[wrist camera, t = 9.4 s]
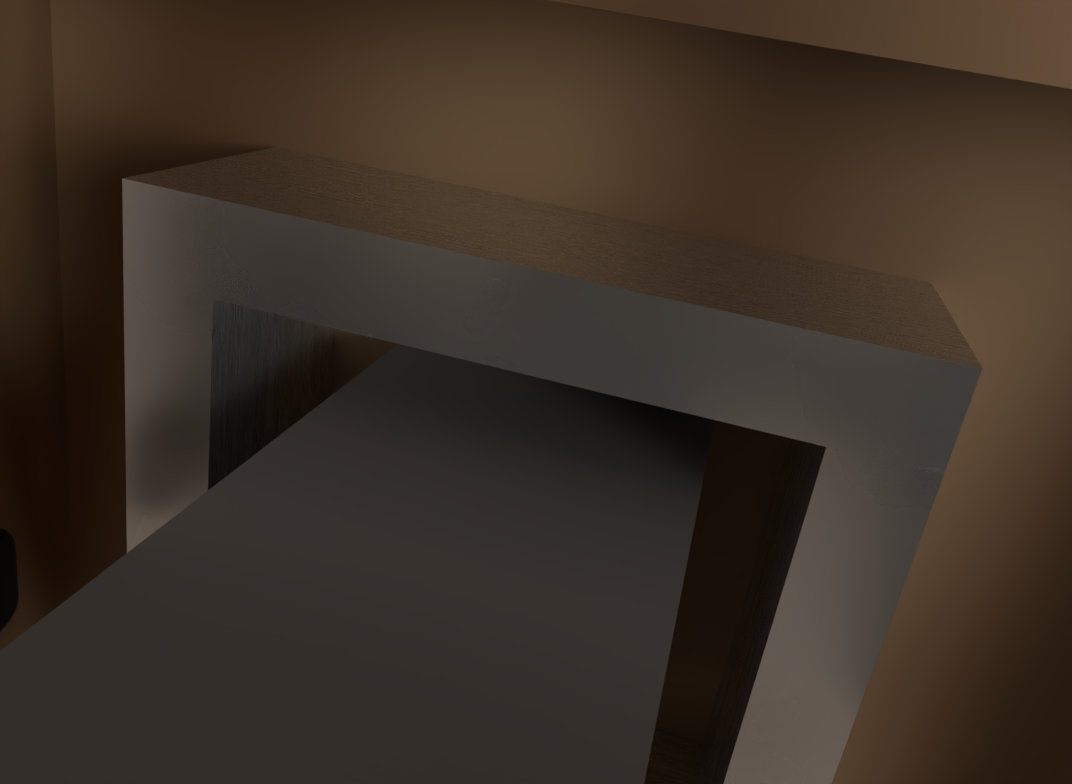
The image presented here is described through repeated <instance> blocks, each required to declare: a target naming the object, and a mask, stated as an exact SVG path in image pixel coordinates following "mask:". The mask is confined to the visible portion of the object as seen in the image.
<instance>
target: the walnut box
mask: <svg viewBox="0 0 1072 784" xmlns="http://www.w3.org/2000/svg"><path fill="white" fill-rule="evenodd" d="M274 147H278V148H283V149H288V150H293V151H298V152H302V153H307V154H312V155H317V156H322V157H326V158H331V159H336V160H341V161H346V162H351V163H355V164H360V165H365V166H370V167H375V168H379V169H384V170H389V171H394V172H399V173H404V174H408V175H413V176H418V177H423V178H428V179H432V180H437V181H442V182H447V183H452V184H457V185H461V186H466V187H471V188H476V189H481V190H485V191H490V192H495V193H500V194H505V195H510V196H514V197H519V198H524V199H529V200H534V201H538V202H543V203H548V204H553V205H558V206H563V207H567V208H572V209H577V210H582V211H587V212H591V213H596V214H601V215H606V216H611V217H616V218H620V219H625V220H630V221H635V222H640V223H644V224H649V225H654V226H659V227H664V228H669V229H673V230H678V231H683V232H688V233H693V234H697V235H702V236H707V237H712V238H717V239H722V240H726V241H731V242H736V243H741V244H746V245H750V246H755V247H760V248H765V249H770V250H775V251H779V252H784V253H789V254H794V255H799V256H803V257H808V258H813V259H818V260H823V261H828V262H832V263H837V264H842V265H847V266H852V267H856V268H861V269H866V270H871V271H876V272H880V273H885V274H890V275H895V276H900V277H905V278H909V279H914V280H919V281H924V282H929V283H932V284H933V286H934V287H935V289H936V291H937V293H938V294H939V296H940V298H941V299H942V301H943V303H944V304H945V306H946V308H947V309H948V311H949V313H950V314H951V316H952V318H953V319H954V321H955V323H956V324H957V326H958V328H959V329H960V331H961V333H962V334H963V336H964V338H965V339H966V341H967V343H968V344H969V346H970V348H971V349H972V351H973V353H974V355H975V356H976V358H977V360H978V361H979V363H980V365H981V366H982V368H983V369H982V371H981V374H980V377H979V380H978V382H977V385H976V388H975V391H974V393H973V396H972V399H971V402H970V404H969V407H968V410H967V413H966V415H965V418H964V421H963V424H962V426H961V429H960V432H959V435H958V437H957V440H956V443H955V446H954V448H953V451H952V454H951V457H950V459H949V462H948V465H947V468H946V470H945V473H944V476H943V479H942V481H941V484H940V487H939V490H938V492H937V495H936V498H935V501H934V503H933V506H932V509H931V512H930V514H929V517H928V520H927V523H926V525H925V528H924V531H923V534H922V536H921V539H920V542H919V545H918V547H917V550H916V553H915V556H914V558H913V561H912V564H911V567H910V569H909V572H908V575H907V578H906V580H905V583H904V586H903V589H902V591H901V594H900V597H899V600H898V602H897V605H896V608H895V611H894V613H893V616H892V619H891V622H890V624H889V627H888V630H887V633H886V635H885V638H884V641H883V644H882V646H881V649H880V652H879V655H878V657H877V660H876V663H875V666H874V668H873V671H872V674H871V677H870V679H869V682H868V685H867V688H866V690H865V693H864V696H863V699H862V701H861V704H860V707H859V710H858V712H857V715H856V718H855V721H854V723H853V726H852V729H851V732H850V734H849V737H848V740H847V743H846V745H845V748H844V751H843V754H842V756H841V759H840V762H839V765H838V767H837V770H836V773H835V776H834V778H833V781H832V784H1072V0H0V528H1V529H4V530H6V531H8V532H9V533H11V535H12V537H13V538H14V540H15V544H16V557H17V572H18V588H19V600H18V605H17V608H16V611H15V613H14V615H13V617H12V619H11V620H10V622H9V623H8V624H7V625H6V627H5V628H4V629H3V630H2V631H1V632H0V651H1V650H2V649H3V648H5V647H6V646H7V645H9V644H10V643H11V642H13V641H14V640H15V639H16V638H18V637H19V636H20V635H22V634H23V633H24V632H25V631H27V630H28V629H29V628H31V627H32V626H33V625H35V624H36V623H37V622H38V621H40V620H41V619H42V618H44V617H45V616H46V615H47V614H49V613H50V612H51V611H53V610H54V609H55V608H57V607H58V606H59V605H60V604H62V603H63V602H64V601H66V600H67V599H68V598H70V597H71V596H72V595H73V594H75V593H76V592H77V591H79V590H80V589H81V588H82V587H84V586H85V585H86V584H88V583H89V582H90V581H92V580H93V579H94V578H95V577H97V576H98V575H99V574H101V573H102V572H103V571H104V570H106V569H107V568H108V567H110V566H111V565H112V564H114V563H115V562H116V561H117V560H119V559H120V558H121V557H123V556H124V555H125V554H127V520H126V440H125V359H124V279H123V199H122V178H127V177H132V176H136V175H141V174H146V173H151V172H156V171H161V170H166V169H171V168H176V167H181V166H186V165H190V164H195V163H200V162H205V161H210V160H215V159H220V158H225V157H230V156H235V155H239V154H244V153H249V152H254V151H259V150H264V149H269V148H274ZM396 345H397V343H393V342H389V341H384V340H380V339H376V338H372V337H368V336H364V335H360V334H355V333H351V332H347V331H343V330H339V329H336V341H335V354H334V367H333V379H332V392H331V395H332V394H334V393H335V392H336V391H338V390H339V389H340V388H342V387H343V386H344V385H345V384H347V383H348V382H349V381H351V380H352V379H353V378H355V377H356V376H357V375H358V374H360V373H361V372H362V371H364V370H365V369H366V368H367V367H369V366H370V365H371V364H373V363H374V362H375V361H377V360H378V359H379V358H380V357H382V356H383V355H384V354H386V353H387V352H388V351H389V350H391V349H392V348H393V347H395V346H396ZM790 439H791V438H787V437H783V436H779V435H775V434H771V433H767V432H762V431H758V430H754V429H750V428H746V427H742V426H737V425H733V424H729V423H725V422H721V421H717V420H715V422H714V427H713V432H712V438H711V443H710V448H709V453H708V458H707V463H706V468H705V474H704V479H703V484H702V489H701V494H700V499H699V504H698V510H697V515H696V520H695V525H694V530H693V535H692V540H691V546H690V551H689V556H688V561H687V566H686V571H685V576H684V581H683V587H682V592H681V597H680V602H679V607H678V612H677V617H676V623H675V628H674V633H673V638H672V643H671V648H670V653H669V659H668V664H667V669H666V674H665V679H664V684H663V689H662V695H661V700H660V705H659V710H658V715H657V720H656V725H655V728H657V729H661V730H664V731H667V732H671V733H674V734H677V735H681V736H684V737H687V738H691V739H694V740H697V741H701V742H703V740H704V737H705V733H706V730H707V727H708V723H709V720H710V716H711V713H712V709H713V706H714V702H715V699H716V695H717V692H718V688H719V685H720V681H721V678H722V674H723V671H724V668H725V664H726V661H727V657H728V654H729V650H730V647H731V643H732V640H733V636H734V633H735V629H736V626H737V622H738V619H739V616H740V612H741V609H742V605H743V602H744V598H745V595H746V591H747V588H748V584H749V581H750V577H751V574H752V570H753V567H754V563H755V560H756V557H757V553H758V550H759V546H760V543H761V539H762V536H763V532H764V529H765V525H766V522H767V518H768V515H769V511H770V508H771V504H772V501H773V498H774V494H775V491H776V487H777V484H778V480H779V477H780V473H781V470H782V466H783V463H784V459H785V456H786V452H787V449H788V446H789V442H790Z"/></svg>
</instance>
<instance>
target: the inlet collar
mask: <svg viewBox="0 0 1072 784" xmlns="http://www.w3.org/2000/svg"><path fill="white" fill-rule="evenodd" d="M122 199H123V279H124V359H125V440H126V520H127V553H128V552H129V551H130V550H132V549H133V548H134V547H136V546H137V545H138V544H139V543H141V542H142V541H143V540H145V539H146V538H147V537H149V536H150V535H151V534H152V533H154V532H155V531H156V530H158V529H159V528H160V527H161V526H163V525H164V524H165V523H167V522H168V521H169V520H171V519H172V518H173V517H174V516H176V515H177V514H178V513H180V512H181V511H182V510H184V509H185V508H186V507H187V506H189V505H190V504H191V503H193V502H194V501H195V500H196V499H198V498H199V497H200V496H202V495H203V494H204V493H206V492H207V491H208V490H209V489H211V488H212V487H213V486H215V485H216V484H217V483H218V482H220V481H221V480H222V479H224V478H225V477H226V476H228V475H229V474H230V473H231V472H233V471H234V470H235V469H237V468H238V467H239V466H241V465H242V464H243V463H244V462H246V461H247V460H248V459H250V458H251V457H252V456H253V455H255V454H256V453H257V452H259V451H260V450H261V449H263V448H264V447H265V446H266V445H268V444H269V443H270V442H272V441H273V440H274V439H275V438H277V437H278V436H279V435H281V434H282V433H283V432H285V431H286V430H287V429H288V428H290V427H291V426H292V425H294V424H295V423H296V422H298V421H299V420H300V419H301V418H303V417H304V416H305V415H307V414H308V413H309V412H310V411H312V410H313V409H314V408H316V407H317V406H318V405H320V404H321V403H322V402H323V401H325V400H326V399H327V398H329V397H330V396H331V392H332V379H333V367H334V354H335V341H336V329H339V330H343V331H347V332H351V333H355V334H360V335H364V336H368V337H372V338H376V339H380V340H384V341H389V342H393V343H397V344H401V345H405V346H409V347H414V348H418V349H422V350H426V351H430V352H434V353H438V354H443V355H447V356H451V357H455V358H459V359H463V360H468V361H472V362H476V363H480V364H484V365H488V366H492V367H497V368H501V369H505V370H509V371H513V372H517V373H522V374H526V375H530V376H534V377H538V378H542V379H546V380H551V381H555V382H559V383H563V384H567V385H571V386H575V387H580V388H584V389H588V390H592V391H596V392H600V393H605V394H609V395H613V396H617V397H621V398H625V399H629V400H634V401H638V402H642V403H646V404H650V405H654V406H659V407H663V408H667V409H671V410H675V411H679V412H683V413H688V414H692V415H696V416H700V417H704V418H708V419H713V420H717V421H721V422H725V423H729V424H733V425H737V426H742V427H746V428H750V429H754V430H758V431H762V432H767V433H771V434H775V435H779V436H783V437H787V438H791V439H790V442H789V446H788V449H787V452H786V456H785V459H784V463H783V466H782V470H781V473H780V477H779V480H778V484H777V487H776V491H775V494H774V498H773V501H772V504H771V508H770V511H769V515H768V518H767V522H766V525H765V529H764V532H763V536H762V539H761V543H760V546H759V550H758V553H757V557H756V560H755V563H754V567H753V570H752V574H751V577H750V581H749V584H748V588H747V591H746V595H745V598H744V602H743V605H742V609H741V612H740V616H739V619H738V622H737V626H736V629H735V633H734V636H733V640H732V643H731V647H730V650H729V654H728V657H727V661H726V664H725V668H724V671H723V674H722V678H721V681H720V685H719V688H718V692H717V695H716V699H715V702H714V706H713V709H712V713H711V716H710V720H709V723H708V727H707V730H706V733H705V737H704V740H703V742H701V741H697V740H694V739H691V738H687V737H684V736H681V735H677V734H674V733H671V732H667V731H664V730H661V729H657V728H655V731H654V736H653V741H652V746H651V751H650V756H649V761H648V767H647V772H646V777H645V782H644V784H832V781H833V778H834V776H835V773H836V770H837V767H838V765H839V762H840V759H841V756H842V754H843V751H844V748H845V745H846V743H847V740H848V737H849V734H850V732H851V729H852V726H853V723H854V721H855V718H856V715H857V712H858V710H859V707H860V704H861V701H862V699H863V696H864V693H865V690H866V688H867V685H868V682H869V679H870V677H871V674H872V671H873V668H874V666H875V663H876V660H877V657H878V655H879V652H880V649H881V646H882V644H883V641H884V638H885V635H886V633H887V630H888V627H889V624H890V622H891V619H892V616H893V613H894V611H895V608H896V605H897V602H898V600H899V597H900V594H901V591H902V589H903V586H904V583H905V580H906V578H907V575H908V572H909V569H910V567H911V564H912V561H913V558H914V556H915V553H916V550H917V547H918V545H919V542H920V539H921V536H922V534H923V531H924V528H925V525H926V523H927V520H928V517H929V514H930V512H931V509H932V506H933V503H934V501H935V498H936V495H937V492H938V490H939V487H940V484H941V481H942V479H943V476H944V473H945V470H946V468H947V465H948V462H949V459H950V457H951V454H952V451H953V448H954V446H955V443H956V440H957V437H958V435H959V432H960V429H961V426H962V424H963V421H964V418H965V415H966V413H967V410H968V407H969V404H970V402H971V399H972V396H973V393H974V391H975V388H976V385H977V382H978V380H979V377H980V374H981V371H982V369H983V368H982V366H981V365H980V363H979V361H978V360H977V358H976V356H975V355H974V353H973V351H972V349H971V348H970V346H969V344H968V343H967V341H966V339H965V338H964V336H963V334H962V333H961V331H960V329H959V328H958V326H957V324H956V323H955V321H954V319H953V318H952V316H951V314H950V313H949V311H948V309H947V308H946V306H945V304H944V303H943V301H942V299H941V298H940V296H939V294H938V293H937V291H936V289H935V287H934V286H933V284H932V283H929V282H924V281H919V280H914V279H909V278H905V277H900V276H895V275H890V274H885V273H880V272H876V271H871V270H866V269H861V268H856V267H852V266H847V265H842V264H837V263H832V262H828V261H823V260H818V259H813V258H808V257H803V256H799V255H794V254H789V253H784V252H779V251H775V250H770V249H765V248H760V247H755V246H750V245H746V244H741V243H736V242H731V241H726V240H722V239H717V238H712V237H707V236H702V235H697V234H693V233H688V232H683V231H678V230H673V229H669V228H664V227H659V226H654V225H649V224H644V223H640V222H635V221H630V220H625V219H620V218H616V217H611V216H606V215H601V214H596V213H591V212H587V211H582V210H577V209H572V208H567V207H563V206H558V205H553V204H548V203H543V202H538V201H534V200H529V199H524V198H519V197H514V196H510V195H505V194H500V193H495V192H490V191H485V190H481V189H476V188H471V187H466V186H461V185H457V184H452V183H447V182H442V181H437V180H432V179H428V178H423V177H418V176H413V175H408V174H404V173H399V172H394V171H389V170H384V169H379V168H375V167H370V166H365V165H360V164H355V163H351V162H346V161H341V160H336V159H331V158H326V157H322V156H317V155H312V154H307V153H302V152H298V151H293V150H288V149H283V148H278V147H274V148H269V149H264V150H259V151H254V152H249V153H244V154H239V155H235V156H230V157H225V158H220V159H215V160H210V161H205V162H200V163H195V164H190V165H186V166H181V167H176V168H171V169H166V170H161V171H156V172H151V173H146V174H141V175H136V176H132V177H127V178H122Z"/></svg>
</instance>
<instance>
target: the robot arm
mask: <svg viewBox="0 0 1072 784" xmlns="http://www.w3.org/2000/svg"><path fill="white" fill-rule="evenodd" d="M18 600H19V588H18V572H17V557H16V544H15V540H14V538H13V537H12V535H11V533H9V532H8V531H6V530H4V529H1V528H0V632H1V631H2V630H3V629H4V628H5V627H6V625H7V624H8V623H9V622H10V620H11V619H12V617H13V615H14V613H15V611H16V608H17V605H18Z"/></svg>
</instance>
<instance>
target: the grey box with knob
mask: <svg viewBox="0 0 1072 784" xmlns="http://www.w3.org/2000/svg"><path fill="white" fill-rule="evenodd" d="M714 422H715V420H713V419H708V418H704V417H700V416H696V415H692V414H688V413H683V412H679V411H675V410H671V409H667V408H663V407H659V406H654V405H650V404H646V403H642V402H638V401H634V400H629V399H625V398H621V397H617V396H613V395H609V394H605V393H600V392H596V391H592V390H588V389H584V388H580V387H575V386H571V385H567V384H563V383H559V382H555V381H551V380H546V379H542V378H538V377H534V376H530V375H526V374H522V373H517V372H513V371H509V370H505V369H501V368H497V367H492V366H488V365H484V364H480V363H476V362H472V361H468V360H463V359H459V358H455V357H451V356H447V355H443V354H438V353H434V352H430V351H426V350H422V349H418V348H414V347H409V346H405V345H401V344H397V345H396V346H395V347H393V348H392V349H391V350H389V351H388V352H387V353H386V354H384V355H383V356H382V357H380V358H379V359H378V360H377V361H375V362H374V363H373V364H371V365H370V366H369V367H367V368H366V369H365V370H364V371H362V372H361V373H360V374H358V375H357V376H356V377H355V378H353V379H352V380H351V381H349V382H348V383H347V384H345V385H344V386H343V387H342V388H340V389H339V390H338V391H336V392H335V393H334V394H332V395H331V396H330V397H329V398H327V399H326V400H325V401H323V402H322V403H321V404H320V405H318V406H317V407H316V408H314V409H313V410H312V411H310V412H309V413H308V414H307V415H305V416H304V417H303V418H301V419H300V420H299V421H298V422H296V423H295V424H294V425H292V426H291V427H290V428H288V429H287V430H286V431H285V432H283V433H282V434H281V435H279V436H278V437H277V438H275V439H274V440H273V441H272V442H270V443H269V444H268V445H266V446H265V447H264V448H263V449H261V450H260V451H259V452H257V453H256V454H255V455H253V456H252V457H251V458H250V459H248V460H247V461H246V462H244V463H243V464H242V465H241V466H239V467H238V468H237V469H235V470H234V471H233V472H231V473H230V474H229V475H228V476H226V477H225V478H224V479H222V480H221V481H220V482H218V483H217V484H216V485H215V486H213V487H212V488H211V489H209V490H208V491H207V492H206V493H204V494H203V495H202V496H200V497H199V498H198V499H196V500H195V501H194V502H193V503H191V504H190V505H189V506H187V507H186V508H185V509H184V510H182V511H181V512H180V513H178V514H177V515H176V516H174V517H173V518H172V519H171V520H169V521H168V522H167V523H165V524H164V525H163V526H161V527H160V528H159V529H158V530H156V531H155V532H154V533H152V534H151V535H150V536H149V537H147V538H146V539H145V540H143V541H142V542H141V543H139V544H138V545H137V546H136V547H134V548H133V549H132V550H130V551H129V552H128V553H127V554H125V555H124V556H123V557H121V558H120V559H119V560H117V561H116V562H115V563H114V564H112V565H111V566H110V567H108V568H107V569H106V570H104V571H103V572H102V573H101V574H99V575H98V576H97V577H95V578H94V579H93V580H92V581H90V582H89V583H88V584H86V585H85V586H84V587H82V588H81V589H80V590H79V591H77V592H76V593H75V594H73V595H72V596H71V597H70V598H68V599H67V600H66V601H64V602H63V603H62V604H60V605H59V606H58V607H57V608H55V609H54V610H53V611H51V612H50V613H49V614H47V615H46V616H45V617H44V618H42V619H41V620H40V621H38V622H37V623H36V624H35V625H33V626H32V627H31V628H29V629H28V630H27V631H25V632H24V633H23V634H22V635H20V636H19V637H18V638H16V639H15V640H14V641H13V642H11V643H10V644H9V645H7V646H6V647H5V648H3V649H2V650H1V651H0V784H644V782H645V777H646V772H647V767H648V761H649V756H650V751H651V746H652V741H653V736H654V731H655V725H656V720H657V715H658V710H659V705H660V700H661V695H662V689H663V684H664V679H665V674H666V669H667V664H668V659H669V653H670V648H671V643H672V638H673V633H674V628H675V623H676V617H677V612H678V607H679V602H680V597H681V592H682V587H683V581H684V576H685V571H686V566H687V561H688V556H689V551H690V546H691V540H692V535H693V530H694V525H695V520H696V515H697V510H698V504H699V499H700V494H701V489H702V484H703V479H704V474H705V468H706V463H707V458H708V453H709V448H710V443H711V438H712V432H713V427H714Z"/></svg>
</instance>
